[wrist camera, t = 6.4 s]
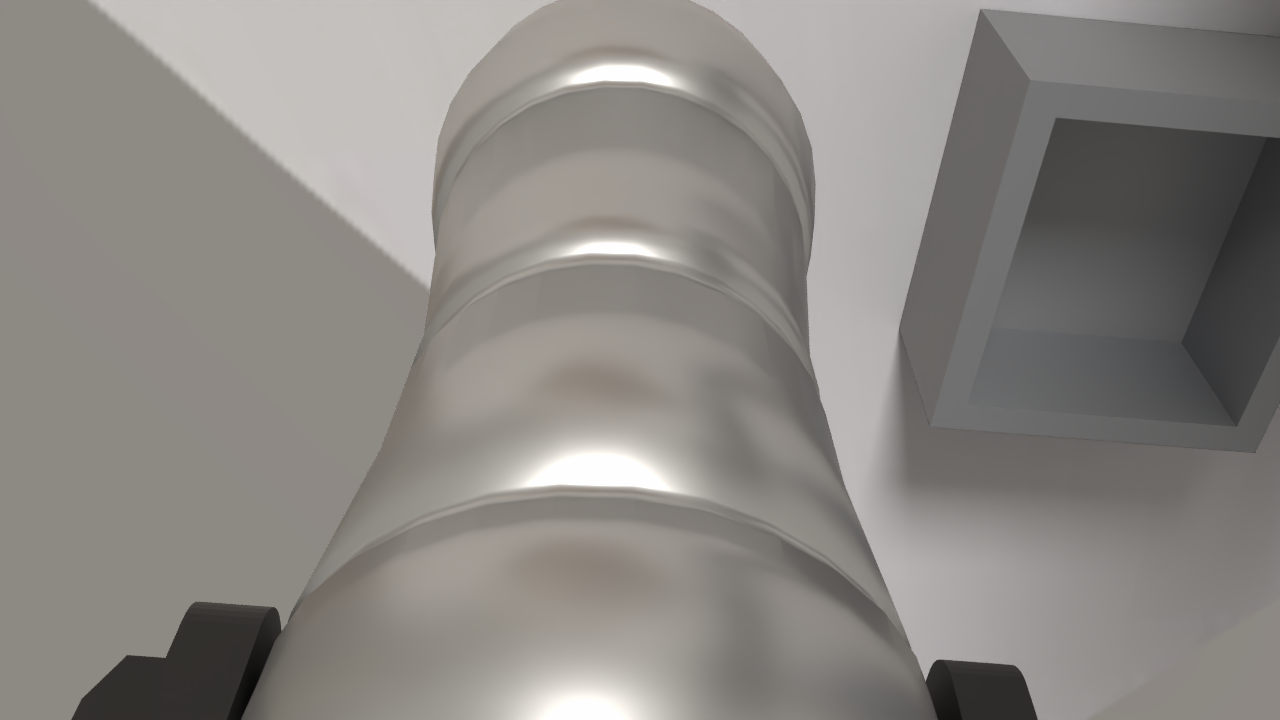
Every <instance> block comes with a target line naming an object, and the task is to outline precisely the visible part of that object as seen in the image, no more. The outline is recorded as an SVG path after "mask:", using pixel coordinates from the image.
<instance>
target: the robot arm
mask: <svg viewBox="0 0 1280 720" xmlns="http://www.w3.org/2000/svg"><path fill="white" fill-rule="evenodd" d="M280 633H281V623H280V617H279V613H278V611H277V609H276V608H274V607H263V606H249V605H236V604H223V603H208V602H195V603H193V604H192V605H191V606H190V607H189V609H188V610H187V612H186V614H185V616H184V618H183V620H182V622H181V624H180V626H179V629H178V631H177V633H176V636H175V638H174V640H173V642H172V645H171V647H170V649H169V651H168V654H167V656H166V658H159V657H145V656H130V655H127V656H126V657H125V658H124V659H123V660H122V661H121V662H120V663H119V664H118V665H117V666H116V667H114V669H112V671H110V672H109V674H107V675H106V676H105V677H104V678H103V679H102V680H101V681H100V682H99V683H98V684H97V685H96V686H95V687H94V688H93V689H92V690H91V691H90V692H89V693H88V694H86V695H85V696H84V697H83V698H82V700H81V702H80V704H79V706H78V708H77V710H76V712H75V714H74V716H73V718H72V720H241V718H242V716H243V714H244V712H245V710H246V707H247V705H248V703H249V701H250V699H251V696H252V694H253V692H254V690H255V688H256V685H257V683H258V681H259V678H260V676H261V673H262V671H263V669H264V666H265V664H266V661H267V659H268V657H269V654H270V652H271V649H272V647H273V645H274V642H275V640H276V639H277V637H278V636H279V634H280ZM926 685H927V687H928V690H929V693H930V696H931V699H932V701H933V704H934V708H935V711H936V714H937V718H938V720H1038V719H1037V716H1036V713H1035V709H1034V706H1033V703H1032V700H1031V697H1030V694H1029V691H1028V687H1027V684H1026V682H1025V679H1024V677H1023V675H1022V673H1021V672H1020V670H1019V669H1018V668H1017V667H1016V666H1014V665H1005V664H992V663H979V662H965V661H952V660H936V661H935V662H934V663H933V665H932V667H931V669H930V671H929V674H928V677H927V680H926Z"/></svg>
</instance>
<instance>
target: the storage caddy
mask: <svg viewBox="0 0 1280 720" xmlns="http://www.w3.org/2000/svg"><path fill="white" fill-rule="evenodd" d="M899 329H900V332H901V336H902V339H903V342H904V345H905V349H906V352H907V355H908V358H909V361H910V365H911V368H912V371H913V374H914V377H915V381H916V384H917V387H918V390H919V394H920V397H921V400H922V403H923V406H924V410H925V413H926V416H927V419H928V423H929V426H930V427H935V428H948V429H960V430H973V431H985V432H998V433H1011V434H1023V435H1036V436H1048V437H1061V438H1073V439H1086V440H1099V441H1111V442H1124V443H1136V444H1149V445H1161V446H1174V447H1187V448H1199V449H1212V450H1224V451H1237V452H1249V453H1255V452H1256V450H1257V448H1258V446H1259V444H1260V442H1261V440H1262V438H1263V435H1264V433H1265V431H1266V429H1267V427H1268V425H1269V423H1270V421H1271V419H1272V417H1273V415H1274V413H1275V411H1276V409H1277V407H1278V405H1279V403H1280V37H1271V36H1260V35H1249V34H1239V33H1228V32H1218V31H1207V30H1197V29H1186V28H1176V27H1165V26H1155V25H1144V24H1133V23H1123V22H1112V21H1102V20H1091V19H1081V18H1070V17H1060V16H1049V15H1039V14H1028V13H1018V12H1007V11H996V10H986V9H981V10H980V14H979V18H978V22H977V26H976V30H975V33H974V37H973V41H972V45H971V49H970V53H969V57H968V61H967V65H966V69H965V73H964V76H963V80H962V84H961V88H960V92H959V96H958V100H957V104H956V108H955V112H954V116H953V120H952V123H951V127H950V131H949V135H948V139H947V143H946V147H945V151H944V155H943V159H942V163H941V166H940V170H939V174H938V178H937V182H936V186H935V190H934V194H933V198H932V202H931V206H930V209H929V213H928V217H927V221H926V225H925V229H924V233H923V237H922V241H921V245H920V249H919V252H918V256H917V260H916V264H915V268H914V272H913V276H912V280H911V284H910V288H909V292H908V295H907V299H906V303H905V307H904V311H903V315H902V319H901V323H900V327H899Z"/></svg>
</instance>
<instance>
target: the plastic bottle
mask: <svg viewBox="0 0 1280 720" xmlns="http://www.w3.org/2000/svg"><path fill="white" fill-rule="evenodd" d="M814 216H815V175H814V165H813V155H812V148H811V144H810V141H809V138H808V135H807V132H806V129H805V126H804V123H803V120H802V116H801V113H800V112H799V110H798V108H797V107H796V105H795V103H794V101H793V100H792V98H791V96H790V94H789V93H788V91H787V89H786V87H785V86H784V84H783V82H782V80H781V79H780V78H779V76H778V75H777V74H776V73H775V71H774V70H773V69H772V67H771V66H770V65H769V63H768V62H767V61H766V59H765V58H764V57H763V56H762V55H761V53H760V52H759V51H758V50H757V49H756V48H755V47H754V46H753V45H752V43H751V42H750V41H749V40H748V39H747V38H746V37H745V36H744V34H743V33H742V32H740V31H739V30H738V29H736V28H735V27H734V26H732V25H731V24H730V23H728V22H727V21H726V20H724V19H723V18H722V17H720V16H719V15H717V14H716V13H715V12H713V11H711V10H709V9H707V8H705V7H703V6H700V5H698V4H696V3H694V2H692V1H690V0H558V1H555V2H553V3H551V4H548V5H546V6H543V7H541V8H540V9H538V10H537V11H535V12H534V13H532V14H531V15H529V16H528V17H526V18H525V19H524V20H522V21H521V22H519V23H518V24H516V25H515V26H513V27H512V28H511V29H510V30H509V31H508V32H507V34H506V35H505V36H504V37H503V38H502V39H501V40H500V41H499V42H498V43H497V44H496V45H495V46H494V47H493V48H492V49H491V50H490V51H489V52H488V53H487V54H486V56H485V57H484V58H483V59H482V60H481V61H480V62H479V63H478V64H477V65H476V66H475V67H474V68H473V69H472V70H471V71H470V73H469V74H468V76H467V78H466V79H465V81H464V82H463V84H462V86H461V87H460V89H459V91H458V92H457V94H456V96H455V97H454V99H453V100H452V102H451V104H450V106H449V109H448V112H447V115H446V118H445V121H444V124H443V127H442V129H441V132H440V135H439V138H438V146H437V154H436V163H435V171H434V183H433V198H432V222H433V232H434V243H435V253H436V254H435V260H434V267H433V274H432V281H431V288H430V296H429V302H428V310H427V316H426V323H425V330H424V335H423V338H422V341H421V343H420V346H419V349H418V351H417V354H416V356H415V359H414V362H413V365H412V367H411V370H410V372H409V375H408V377H407V380H406V383H405V385H404V388H403V391H402V393H401V396H400V399H399V401H398V404H397V407H396V409H395V412H394V415H393V418H392V420H391V423H390V425H389V428H388V430H387V433H386V436H385V438H384V441H383V444H382V447H381V449H380V451H379V452H378V454H377V456H376V458H375V460H374V462H373V463H372V465H371V467H370V469H369V471H368V472H367V474H366V476H365V478H364V480H363V482H362V484H361V485H360V487H359V489H358V491H357V493H356V494H355V496H354V498H353V500H352V502H351V504H350V506H349V507H348V509H347V511H346V513H345V515H344V517H343V518H342V520H341V522H340V524H339V526H338V528H337V529H336V531H335V533H334V535H333V537H332V539H331V541H330V542H329V544H328V546H327V548H326V550H325V552H324V554H323V555H322V557H321V559H320V561H319V563H318V564H317V566H316V568H315V570H314V572H313V574H312V576H311V578H310V579H309V581H308V583H307V585H306V587H305V588H304V590H303V592H302V594H301V596H300V597H299V599H298V601H297V603H296V605H295V607H294V608H293V610H292V612H291V615H290V618H289V620H288V623H287V625H286V626H285V627H284V629H283V630H282V632H281V633H280V634H279V636H278V637H277V639H276V640H275V642H274V645H273V647H272V649H271V652H270V654H269V657H268V659H267V661H266V664H265V666H264V669H263V671H262V673H261V676H260V678H259V681H258V683H257V685H256V688H255V690H254V692H253V694H252V696H251V699H250V701H249V703H248V705H247V707H246V710H245V712H244V714H243V716H242V718H241V720H938V718H937V714H936V711H935V708H934V704H933V701H932V699H931V696H930V693H929V690H928V687H927V685H926V682H925V679H924V676H923V674H922V671H921V668H920V665H919V663H918V660H917V657H916V656H915V654H914V653H913V651H912V650H911V647H910V644H909V641H908V639H907V636H906V633H905V630H904V628H903V625H902V623H901V621H900V618H899V616H898V613H897V611H896V608H895V606H894V604H893V601H892V599H891V596H890V594H889V592H888V589H887V587H886V584H885V582H884V579H883V577H882V575H881V572H880V570H879V567H878V565H877V563H876V560H875V558H874V555H873V553H872V550H871V548H870V546H869V543H868V541H867V538H866V536H865V534H864V531H863V529H862V526H861V524H860V521H859V519H858V517H857V514H856V512H855V509H854V507H853V505H852V502H851V500H850V497H849V495H848V492H847V490H846V488H845V485H844V481H843V478H842V474H841V470H840V466H839V463H838V459H837V455H836V451H835V448H834V444H833V440H832V436H831V433H830V429H829V425H828V421H827V417H826V414H825V411H824V409H823V406H822V403H821V400H820V395H819V388H818V384H817V380H816V377H815V373H814V369H813V366H812V362H811V358H810V349H809V326H808V304H807V281H806V276H807V271H808V266H809V261H810V256H811V247H812V238H813V229H814Z"/></svg>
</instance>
